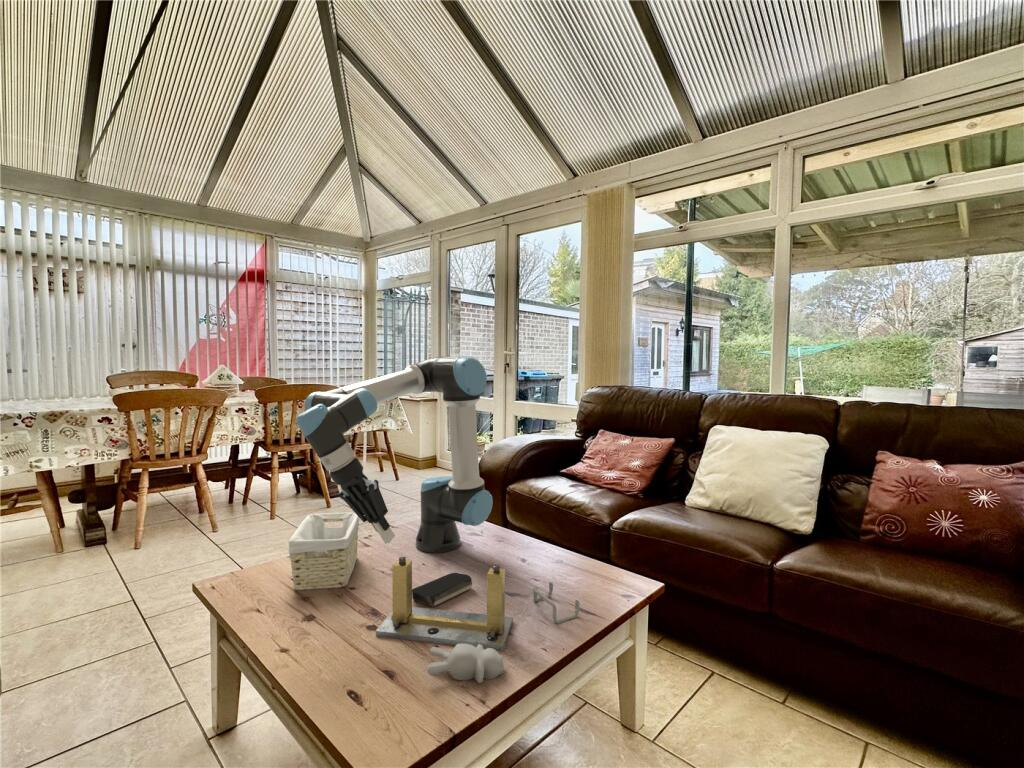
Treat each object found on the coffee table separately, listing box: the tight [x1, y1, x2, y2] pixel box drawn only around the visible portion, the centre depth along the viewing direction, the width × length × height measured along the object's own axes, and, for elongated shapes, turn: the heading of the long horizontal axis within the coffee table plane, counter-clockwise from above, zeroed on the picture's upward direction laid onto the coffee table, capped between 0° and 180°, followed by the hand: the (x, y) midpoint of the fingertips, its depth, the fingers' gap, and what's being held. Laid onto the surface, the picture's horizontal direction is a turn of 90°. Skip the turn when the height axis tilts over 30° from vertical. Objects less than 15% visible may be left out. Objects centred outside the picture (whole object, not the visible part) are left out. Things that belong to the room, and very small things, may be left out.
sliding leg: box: [392, 556, 413, 627], centre depth 117 cm, size 6×4×15 cm, turn 170°
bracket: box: [532, 581, 581, 625], centre depth 126 cm, size 13×8×5 cm, turn 30°
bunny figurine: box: [426, 644, 505, 684], centre depth 100 cm, size 10×5×15 cm
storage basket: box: [288, 511, 360, 591], centre depth 145 cm, size 24×16×15 cm
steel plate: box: [375, 606, 514, 652], centre depth 116 cm, size 12×30×1 cm, turn 80°
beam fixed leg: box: [391, 564, 506, 638], centre depth 115 cm, size 6×27×15 cm, turn 80°
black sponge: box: [412, 572, 473, 607], centre depth 133 cm, size 16×8×4 cm, turn 139°
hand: (390, 539), depth 126 cm, fingers closed
